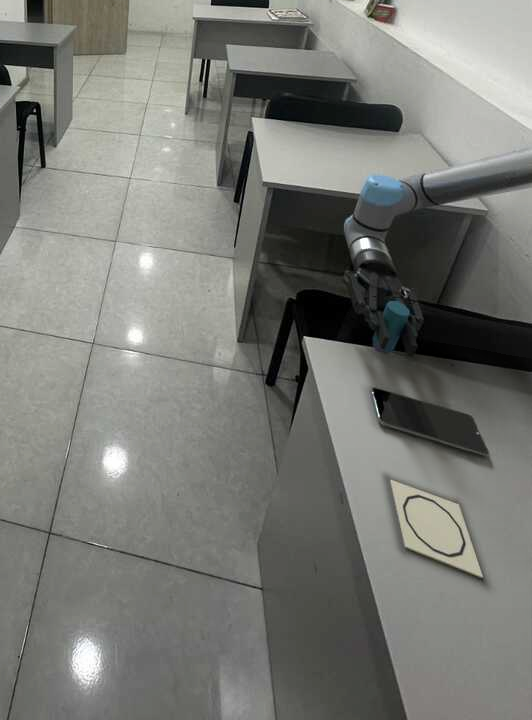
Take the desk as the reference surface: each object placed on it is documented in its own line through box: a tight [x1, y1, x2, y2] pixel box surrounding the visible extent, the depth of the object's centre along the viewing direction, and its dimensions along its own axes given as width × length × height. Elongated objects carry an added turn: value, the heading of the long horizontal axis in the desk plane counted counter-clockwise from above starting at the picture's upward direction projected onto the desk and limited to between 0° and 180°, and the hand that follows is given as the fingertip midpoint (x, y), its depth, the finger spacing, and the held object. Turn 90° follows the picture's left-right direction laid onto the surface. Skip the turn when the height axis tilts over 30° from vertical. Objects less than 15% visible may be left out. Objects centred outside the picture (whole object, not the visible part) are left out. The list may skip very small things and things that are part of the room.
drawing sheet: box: [389, 479, 484, 579], centre depth 68 cm, size 9×9×1 cm
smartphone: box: [370, 386, 490, 457], centre depth 82 cm, size 7×1×16 cm
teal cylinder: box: [371, 301, 410, 355], centre depth 88 cm, size 4×4×10 cm
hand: (398, 346), depth 83 cm, fingers closed on teal cylinder, 4 cm apart
